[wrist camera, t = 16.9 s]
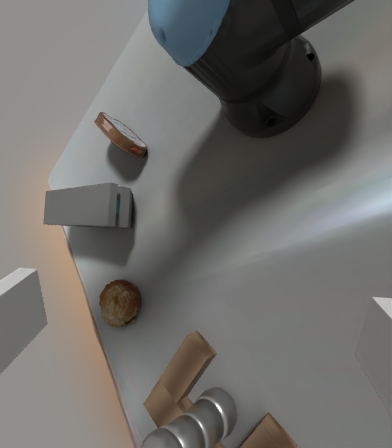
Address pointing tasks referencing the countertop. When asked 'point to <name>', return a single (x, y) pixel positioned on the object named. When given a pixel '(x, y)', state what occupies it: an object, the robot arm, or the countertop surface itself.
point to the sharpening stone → (90, 206)
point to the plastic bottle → (198, 423)
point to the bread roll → (120, 303)
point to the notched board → (183, 383)
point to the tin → (121, 135)
